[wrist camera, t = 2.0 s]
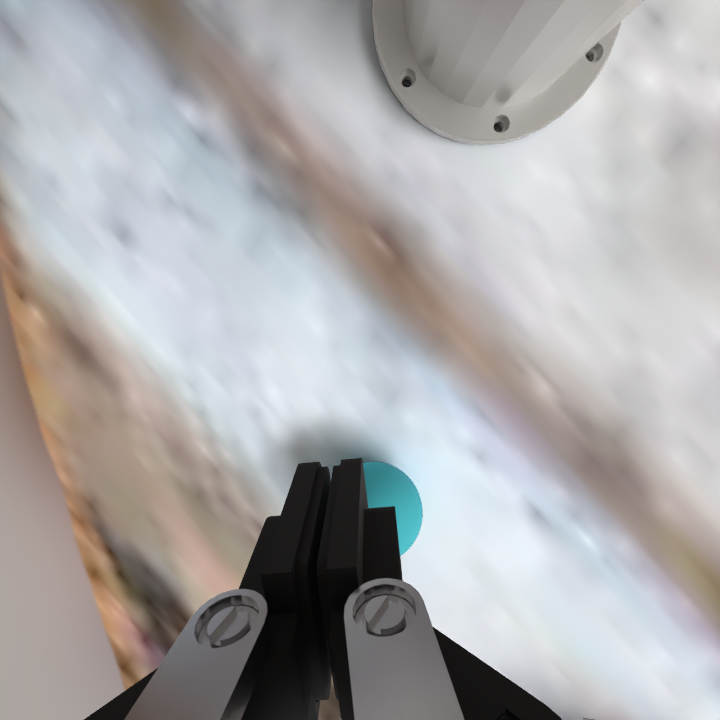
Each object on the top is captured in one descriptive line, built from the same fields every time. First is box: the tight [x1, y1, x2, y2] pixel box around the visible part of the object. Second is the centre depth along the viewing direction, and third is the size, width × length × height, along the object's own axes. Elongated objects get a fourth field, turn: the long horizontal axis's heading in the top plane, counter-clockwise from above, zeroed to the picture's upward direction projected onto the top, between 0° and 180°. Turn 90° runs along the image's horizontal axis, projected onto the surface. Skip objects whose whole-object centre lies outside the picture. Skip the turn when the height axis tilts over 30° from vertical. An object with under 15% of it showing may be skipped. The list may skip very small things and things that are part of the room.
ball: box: [363, 462, 423, 556], centre depth 27 cm, size 6×6×6 cm
